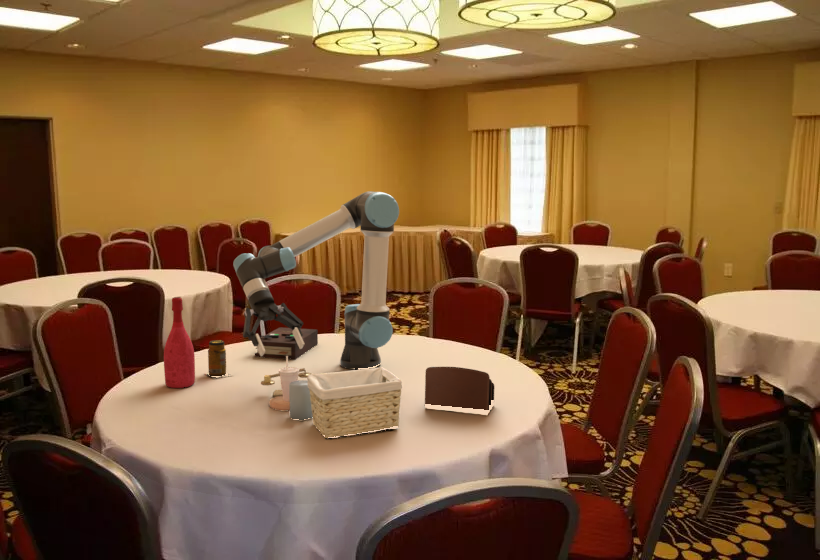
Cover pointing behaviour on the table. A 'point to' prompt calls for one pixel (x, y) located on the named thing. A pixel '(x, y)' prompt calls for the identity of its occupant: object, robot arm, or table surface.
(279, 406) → the dish
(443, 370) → the toaster
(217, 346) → the condiment
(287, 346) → the dark electronic device
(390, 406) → the storage basket
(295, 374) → the smoothie
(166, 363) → the wine bottle
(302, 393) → the grey domed cylinder
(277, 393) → the balance
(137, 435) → the table surface
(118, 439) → the table surface
